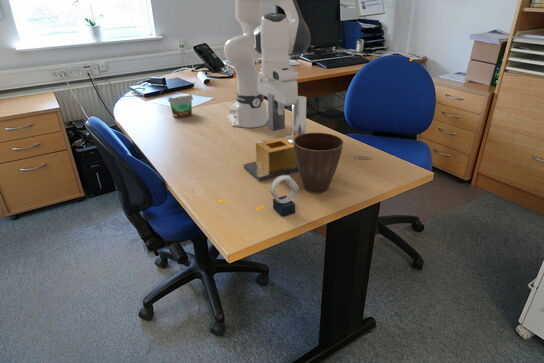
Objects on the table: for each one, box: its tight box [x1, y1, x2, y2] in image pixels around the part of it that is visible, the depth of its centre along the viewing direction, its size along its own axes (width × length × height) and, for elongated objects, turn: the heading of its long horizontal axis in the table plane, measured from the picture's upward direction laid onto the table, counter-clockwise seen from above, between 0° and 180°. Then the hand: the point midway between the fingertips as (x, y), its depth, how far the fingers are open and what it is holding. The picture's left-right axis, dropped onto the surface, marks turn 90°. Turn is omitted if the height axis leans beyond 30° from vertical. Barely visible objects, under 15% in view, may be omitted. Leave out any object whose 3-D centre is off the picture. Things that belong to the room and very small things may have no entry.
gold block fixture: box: [243, 95, 307, 182], centre depth 136 cm, size 17×24×24 cm
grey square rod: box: [267, 93, 286, 132], centre depth 129 cm, size 3×4×12 cm, turn 119°
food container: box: [167, 93, 194, 119], centre depth 191 cm, size 12×6×10 cm, turn 126°
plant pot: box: [294, 132, 344, 194], centre depth 122 cm, size 15×15×16 cm
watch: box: [269, 174, 300, 218], centre depth 111 cm, size 6×8×11 cm
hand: (276, 112), depth 129 cm, fingers closed on grey square rod, 3 cm apart
